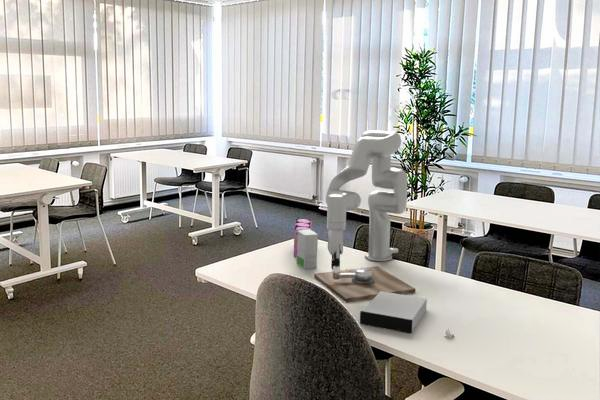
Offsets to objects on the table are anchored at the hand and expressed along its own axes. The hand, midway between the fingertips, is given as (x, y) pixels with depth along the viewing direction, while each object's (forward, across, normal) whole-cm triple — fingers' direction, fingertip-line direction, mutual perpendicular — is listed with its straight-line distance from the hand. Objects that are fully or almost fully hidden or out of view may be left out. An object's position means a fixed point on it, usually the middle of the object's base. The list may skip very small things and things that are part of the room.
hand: (335, 268), depth 232 cm
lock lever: (+3, +3, +6) cm, 8 cm away
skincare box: (+6, -22, -9) cm, 25 cm away
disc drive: (+6, +36, +15) cm, 40 cm away
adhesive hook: (+6, +54, +29) cm, 62 cm away
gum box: (+6, -46, -9) cm, 48 cm away
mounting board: (+6, +3, +11) cm, 13 cm away
